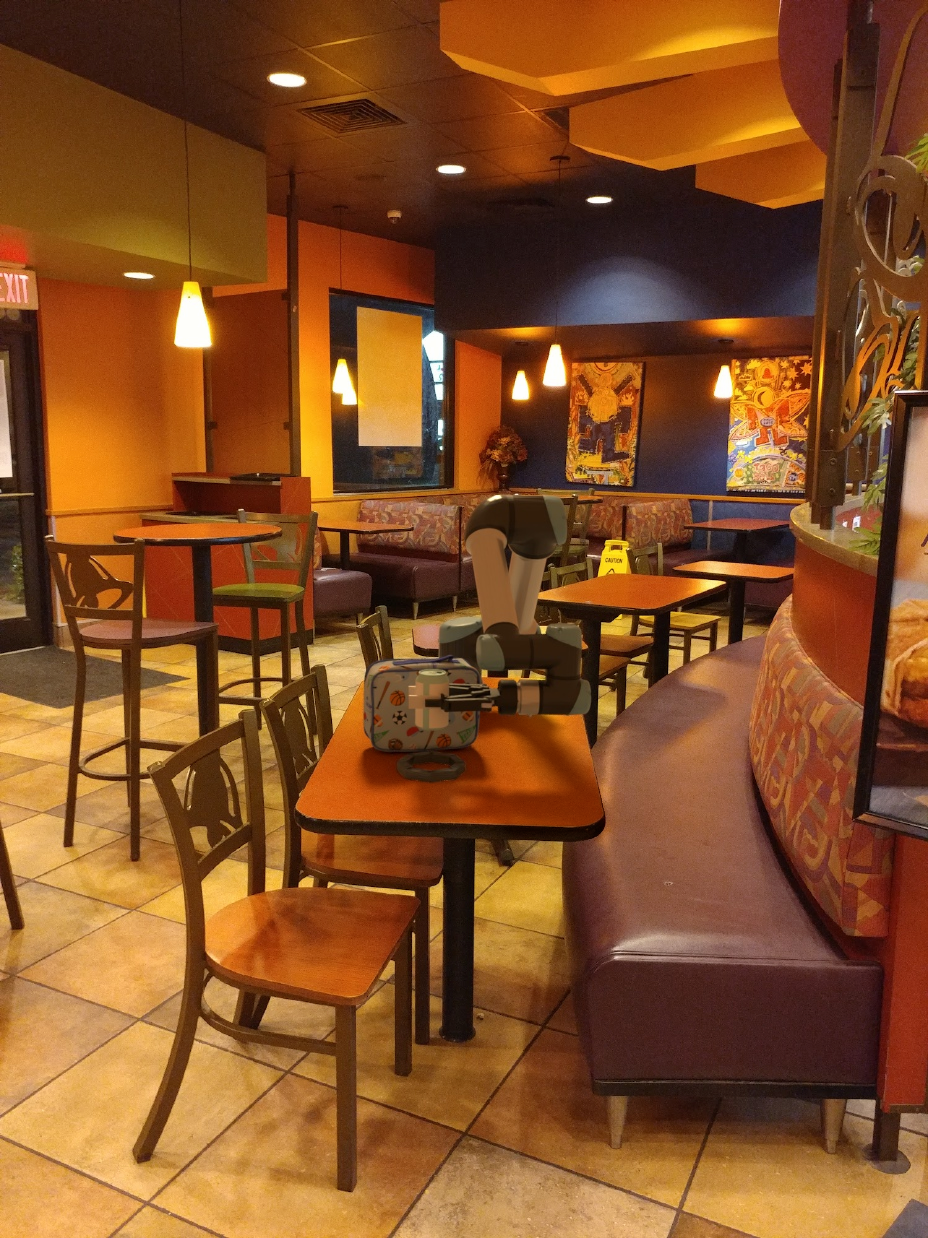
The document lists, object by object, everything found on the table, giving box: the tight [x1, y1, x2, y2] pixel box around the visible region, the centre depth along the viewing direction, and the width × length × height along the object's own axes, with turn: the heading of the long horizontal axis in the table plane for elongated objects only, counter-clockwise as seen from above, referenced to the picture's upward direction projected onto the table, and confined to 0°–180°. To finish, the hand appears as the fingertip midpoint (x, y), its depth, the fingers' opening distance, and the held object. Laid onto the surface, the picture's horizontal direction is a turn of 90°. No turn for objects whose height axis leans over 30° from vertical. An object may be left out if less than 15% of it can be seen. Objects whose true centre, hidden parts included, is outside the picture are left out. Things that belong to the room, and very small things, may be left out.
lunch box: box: [362, 655, 481, 753], centre depth 220 cm, size 28×10×22 cm, turn 105°
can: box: [415, 669, 449, 731], centre depth 203 cm, size 7×7×12 cm
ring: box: [396, 750, 466, 784], centre depth 206 cm, size 14×14×2 cm
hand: (408, 697), depth 203 cm, fingers closed on can, 7 cm apart
